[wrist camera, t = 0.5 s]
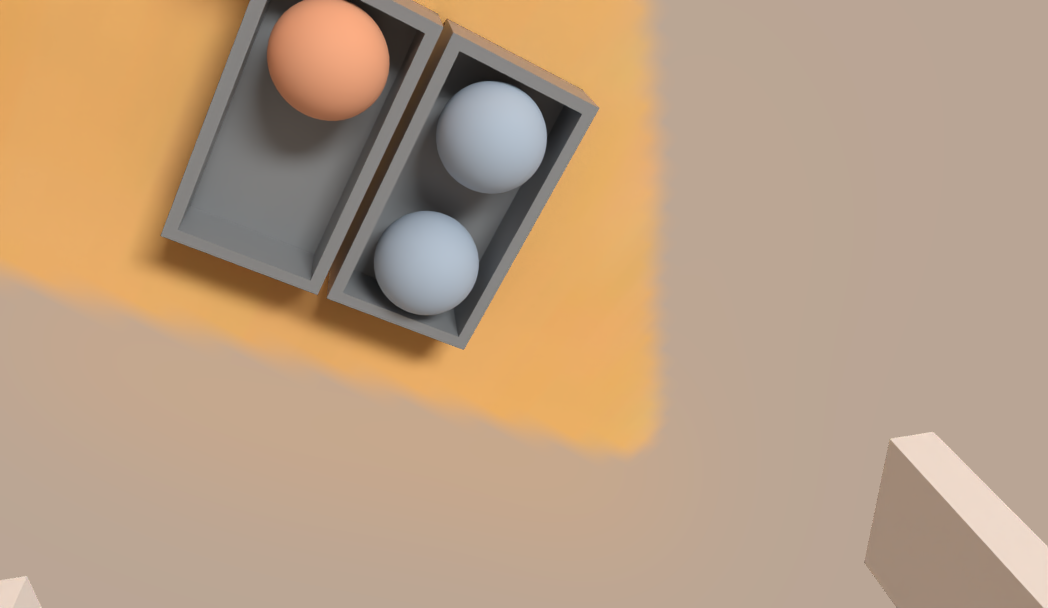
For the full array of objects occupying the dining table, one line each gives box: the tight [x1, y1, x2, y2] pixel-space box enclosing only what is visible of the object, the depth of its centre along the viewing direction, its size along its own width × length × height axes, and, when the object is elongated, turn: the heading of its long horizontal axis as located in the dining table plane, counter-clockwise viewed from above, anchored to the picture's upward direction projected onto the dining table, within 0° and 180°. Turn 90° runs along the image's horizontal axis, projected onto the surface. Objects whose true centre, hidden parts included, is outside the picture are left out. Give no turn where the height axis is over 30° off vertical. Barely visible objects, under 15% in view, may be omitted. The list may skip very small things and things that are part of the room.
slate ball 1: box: [374, 211, 479, 315], centre depth 35 cm, size 4×4×4 cm
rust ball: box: [267, 0, 389, 121], centre depth 31 cm, size 4×4×4 cm
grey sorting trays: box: [161, 0, 599, 350], centre depth 34 cm, size 13×12×3 cm
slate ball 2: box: [436, 81, 547, 194], centre depth 33 cm, size 4×4×4 cm
